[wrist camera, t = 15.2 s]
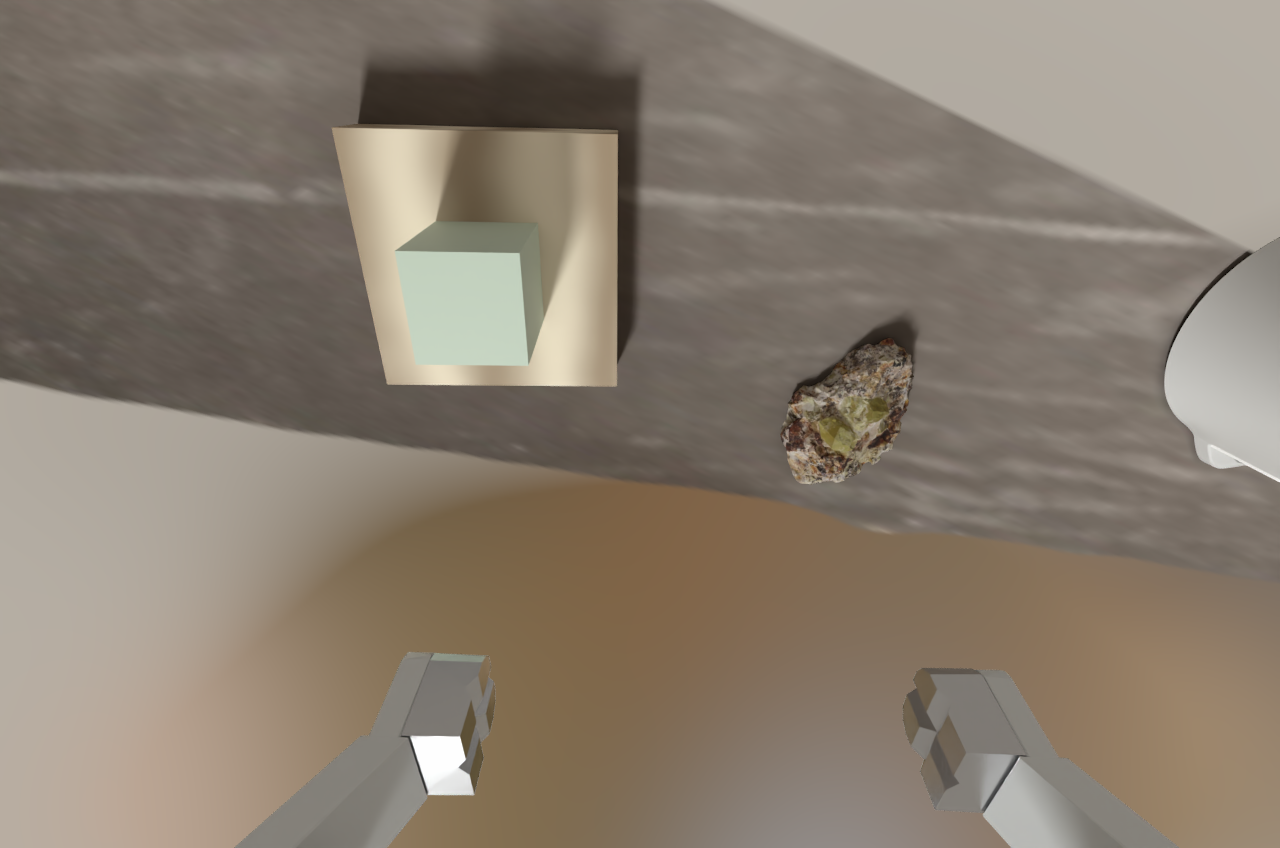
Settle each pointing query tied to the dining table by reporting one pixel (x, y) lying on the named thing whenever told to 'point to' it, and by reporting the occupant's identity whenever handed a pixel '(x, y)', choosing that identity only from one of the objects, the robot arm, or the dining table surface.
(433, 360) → the sage block
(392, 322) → the birch plinth
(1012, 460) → the dining table surface
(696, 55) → the dining table surface
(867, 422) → the mineral rock
